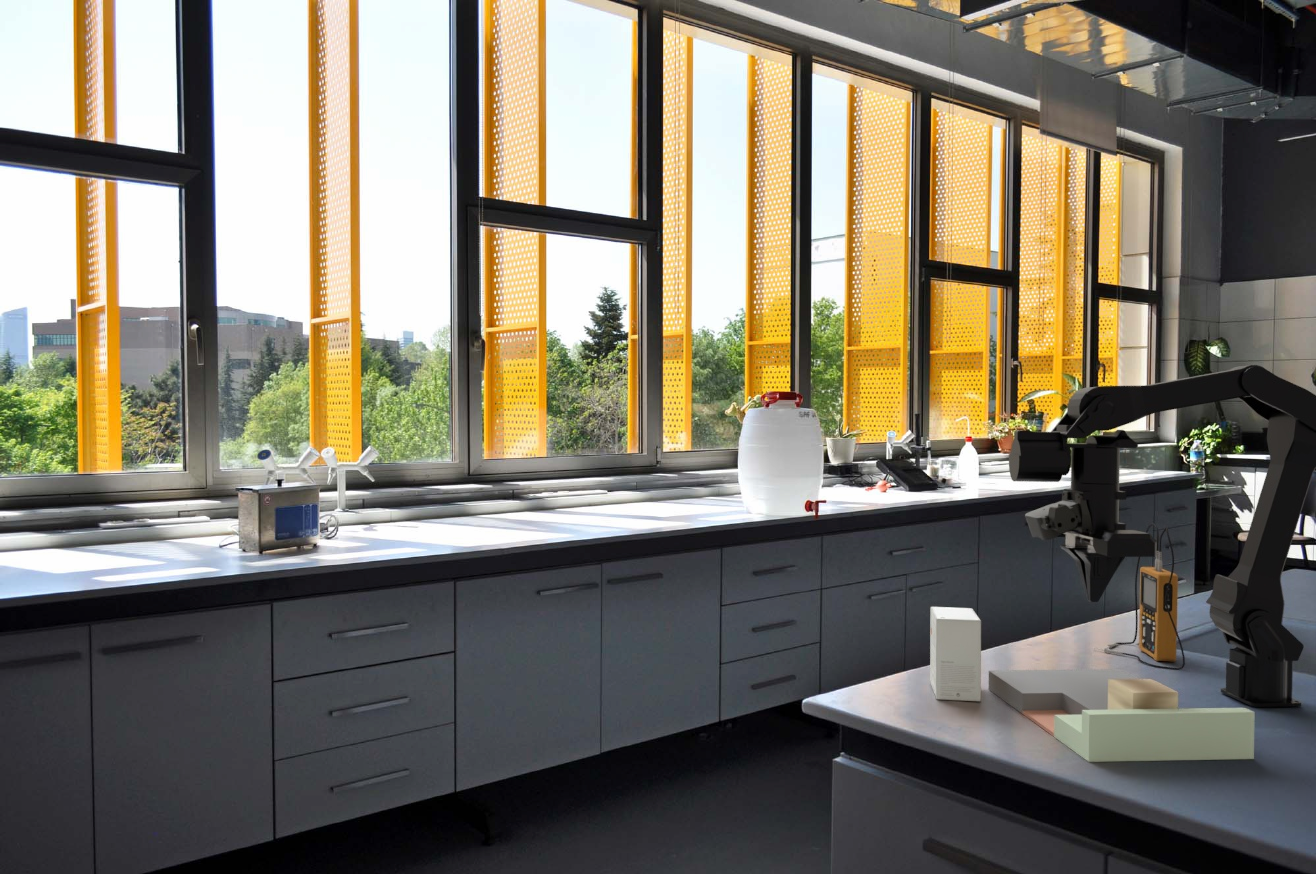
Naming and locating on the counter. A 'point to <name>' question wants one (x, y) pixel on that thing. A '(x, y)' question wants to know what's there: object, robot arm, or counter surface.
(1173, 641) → the multimeter
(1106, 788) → the counter surface
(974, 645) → the small box
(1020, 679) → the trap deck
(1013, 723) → the counter surface
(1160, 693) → the birch block
